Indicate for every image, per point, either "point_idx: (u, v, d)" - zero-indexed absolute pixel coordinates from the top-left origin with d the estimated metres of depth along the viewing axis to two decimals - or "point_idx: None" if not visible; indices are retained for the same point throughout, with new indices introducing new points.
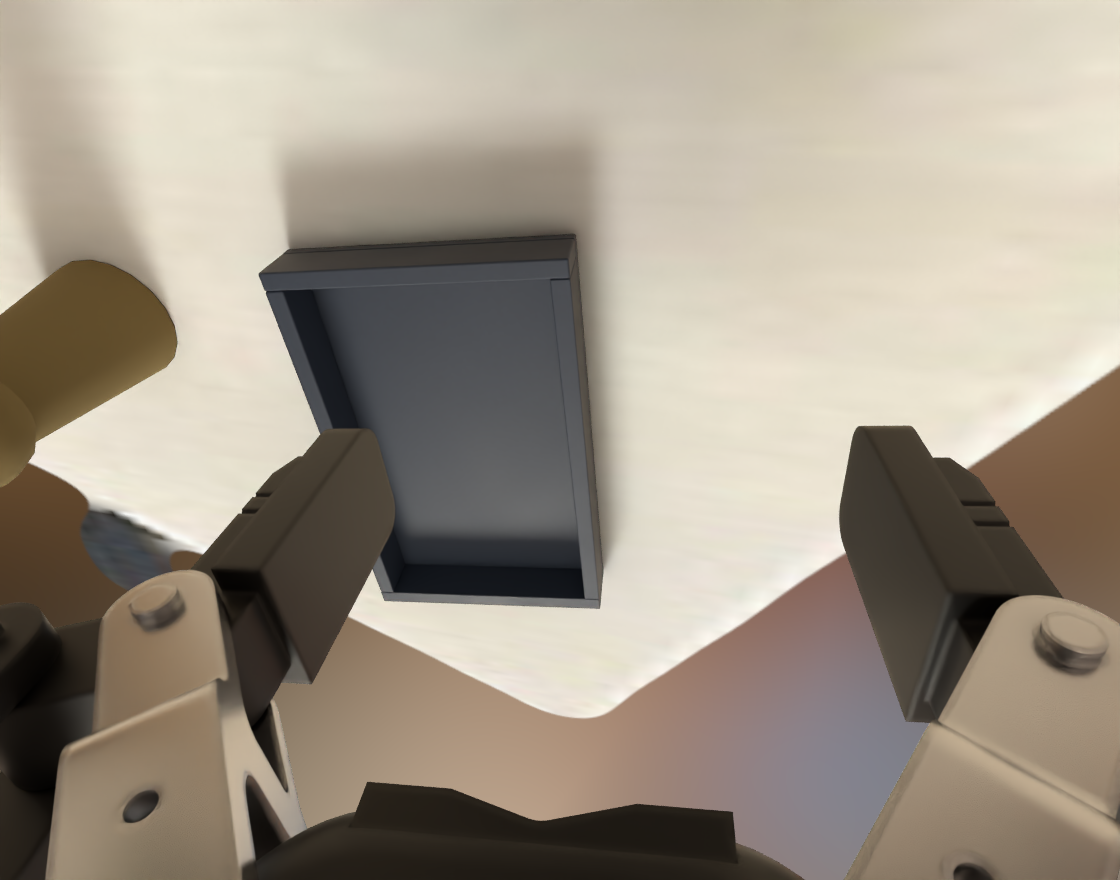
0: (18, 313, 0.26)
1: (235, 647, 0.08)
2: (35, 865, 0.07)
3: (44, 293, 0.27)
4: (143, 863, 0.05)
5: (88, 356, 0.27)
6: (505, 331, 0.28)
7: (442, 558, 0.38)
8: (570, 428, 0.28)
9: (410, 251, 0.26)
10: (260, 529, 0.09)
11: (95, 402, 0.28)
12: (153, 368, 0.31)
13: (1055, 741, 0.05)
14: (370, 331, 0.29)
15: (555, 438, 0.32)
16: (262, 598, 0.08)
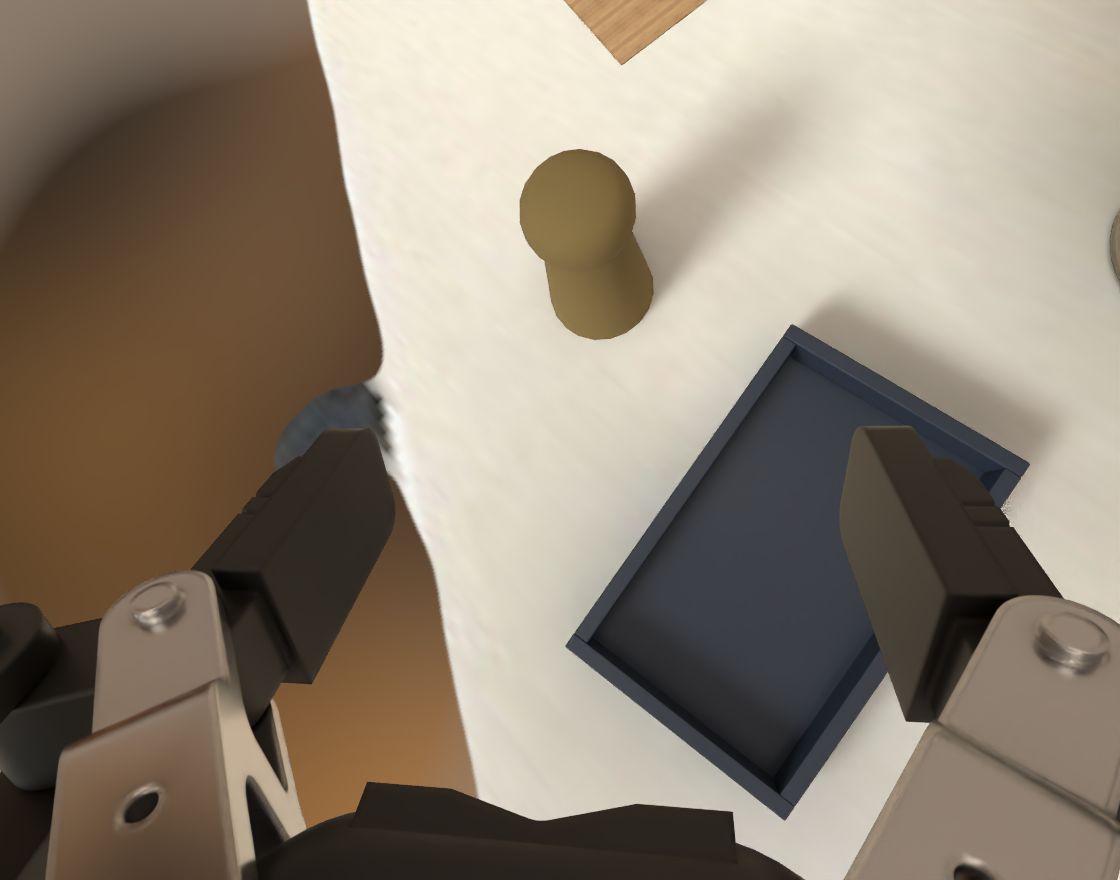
0: None
1: (235, 647, 0.08)
2: (36, 865, 0.07)
3: None
4: (143, 863, 0.05)
5: (634, 273, 0.33)
6: None
7: (635, 657, 0.34)
8: None
9: None
10: (260, 529, 0.09)
11: (599, 297, 0.33)
12: (608, 327, 0.36)
13: (1055, 741, 0.05)
14: (792, 423, 0.34)
15: (862, 610, 0.32)
16: (262, 598, 0.08)
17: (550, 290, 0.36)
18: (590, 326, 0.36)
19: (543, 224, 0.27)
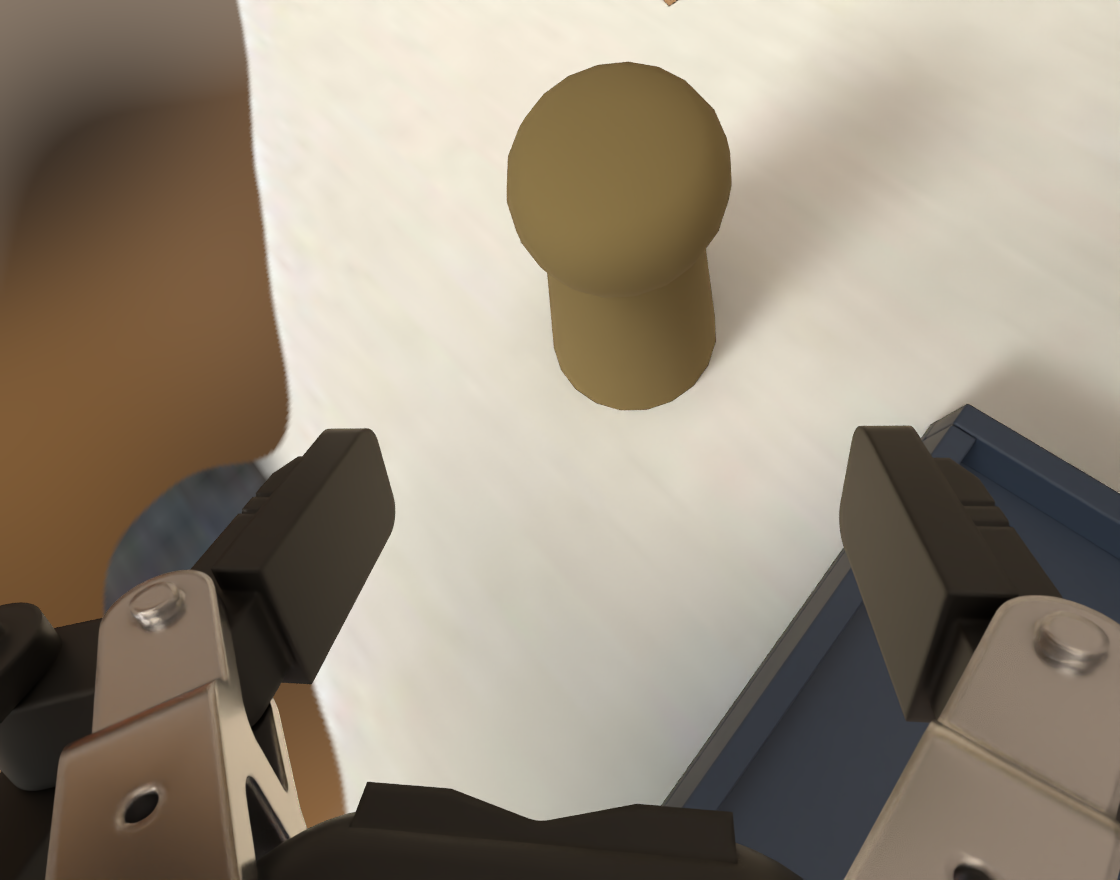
0: None
1: (235, 647, 0.08)
2: (35, 865, 0.07)
3: None
4: (143, 864, 0.05)
5: (701, 307, 0.19)
6: None
7: None
8: None
9: None
10: (260, 529, 0.09)
11: (640, 346, 0.19)
12: (646, 393, 0.22)
13: (1055, 741, 0.05)
14: None
15: None
16: (262, 598, 0.08)
17: (554, 330, 0.22)
18: (617, 390, 0.22)
19: (554, 198, 0.14)
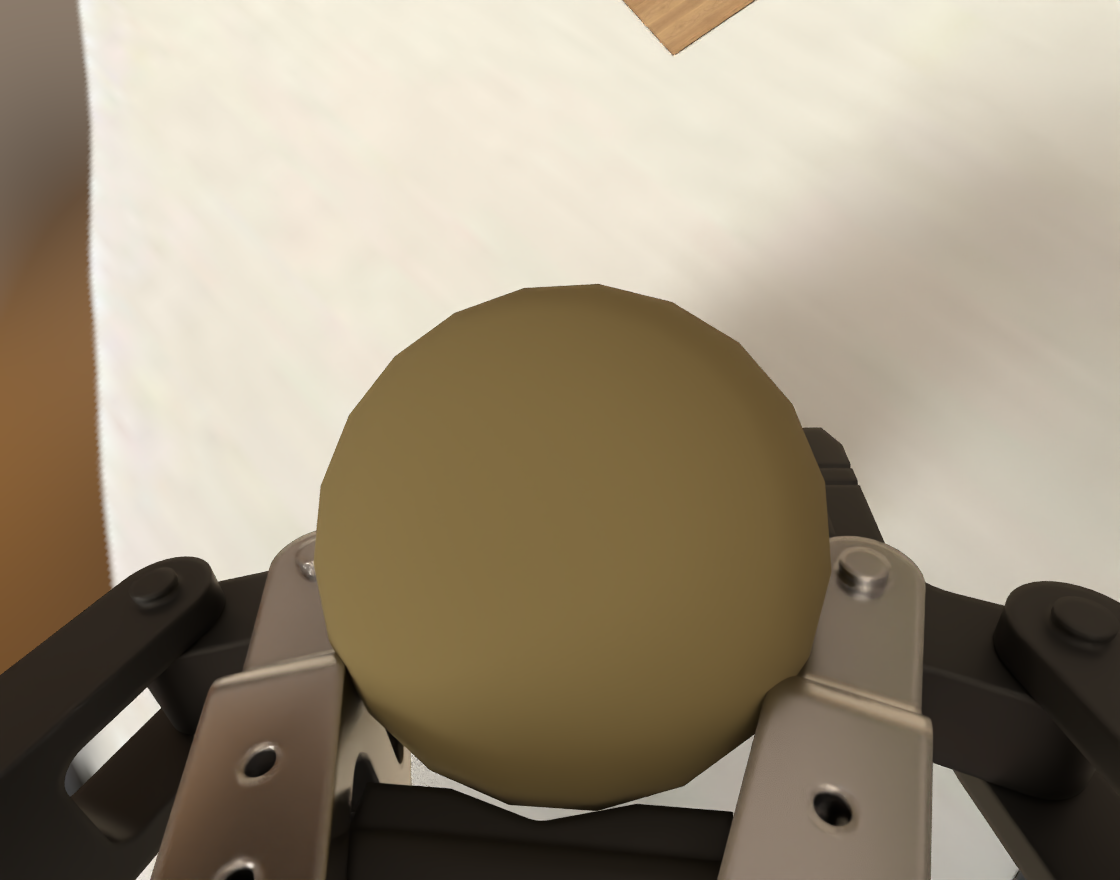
0: None
1: None
2: (171, 810, 0.08)
3: None
4: (249, 823, 0.05)
5: None
6: None
7: None
8: None
9: None
10: None
11: None
12: None
13: (824, 647, 0.06)
14: None
15: None
16: None
17: None
18: None
19: (396, 668, 0.05)
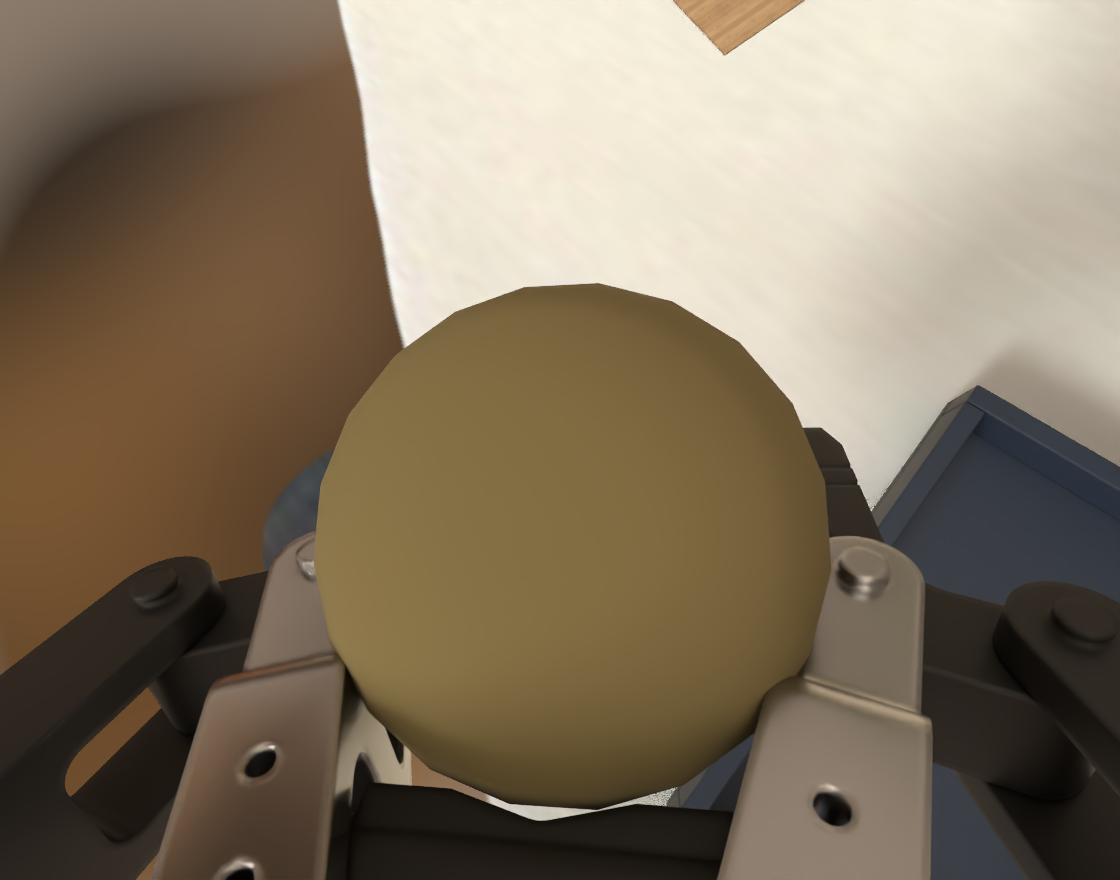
0: None
1: None
2: (172, 809, 0.08)
3: None
4: (249, 823, 0.05)
5: None
6: None
7: None
8: None
9: None
10: None
11: None
12: None
13: (824, 647, 0.06)
14: (968, 516, 0.25)
15: None
16: None
17: None
18: None
19: (396, 669, 0.05)
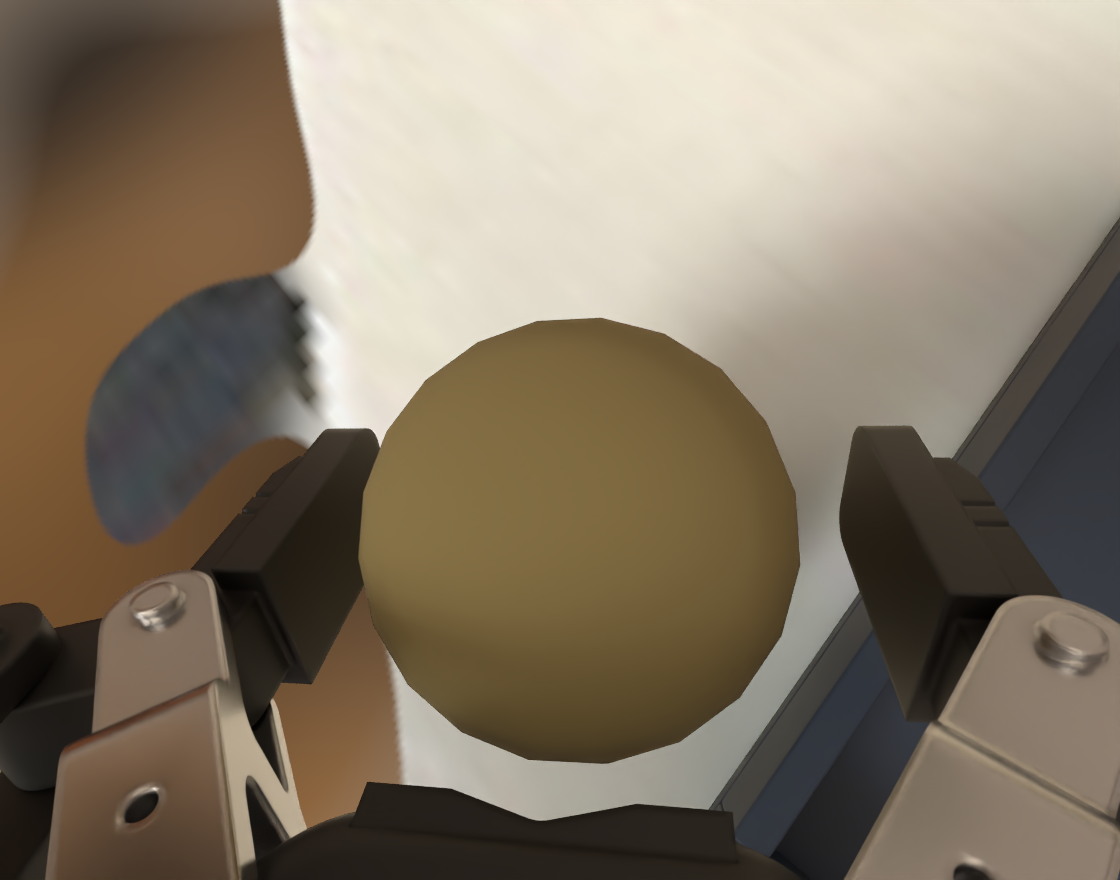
0: None
1: (235, 647, 0.08)
2: (36, 865, 0.07)
3: None
4: (143, 863, 0.05)
5: None
6: None
7: None
8: None
9: None
10: (260, 529, 0.09)
11: None
12: None
13: (1054, 740, 0.05)
14: None
15: None
16: (262, 598, 0.08)
17: None
18: None
19: (434, 645, 0.06)
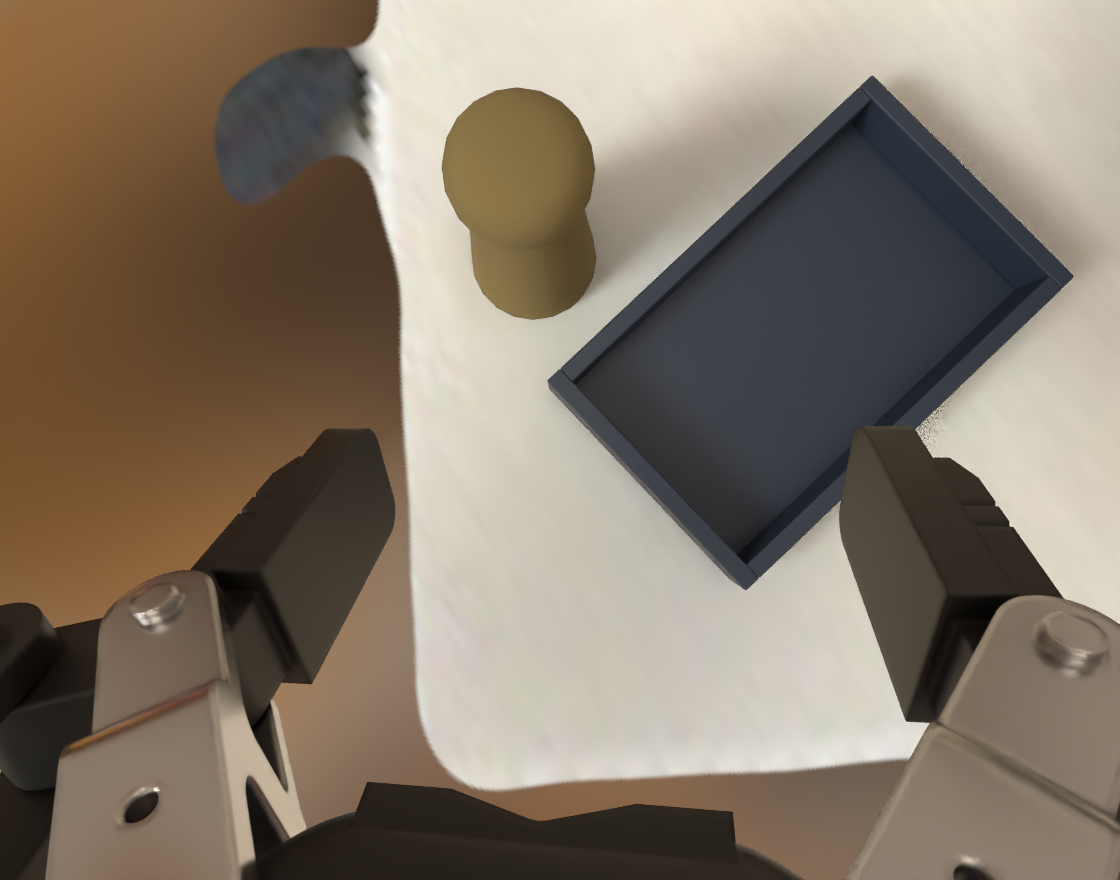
0: None
1: (235, 647, 0.08)
2: (36, 865, 0.07)
3: None
4: (142, 864, 0.05)
5: (575, 257, 0.27)
6: (927, 295, 0.31)
7: (615, 416, 0.31)
8: (939, 387, 0.28)
9: None
10: (260, 529, 0.09)
11: (526, 278, 0.27)
12: (532, 308, 0.30)
13: (1055, 741, 0.05)
14: (836, 198, 0.31)
15: (862, 406, 0.30)
16: (262, 598, 0.08)
17: None
18: (511, 302, 0.30)
19: (470, 181, 0.21)
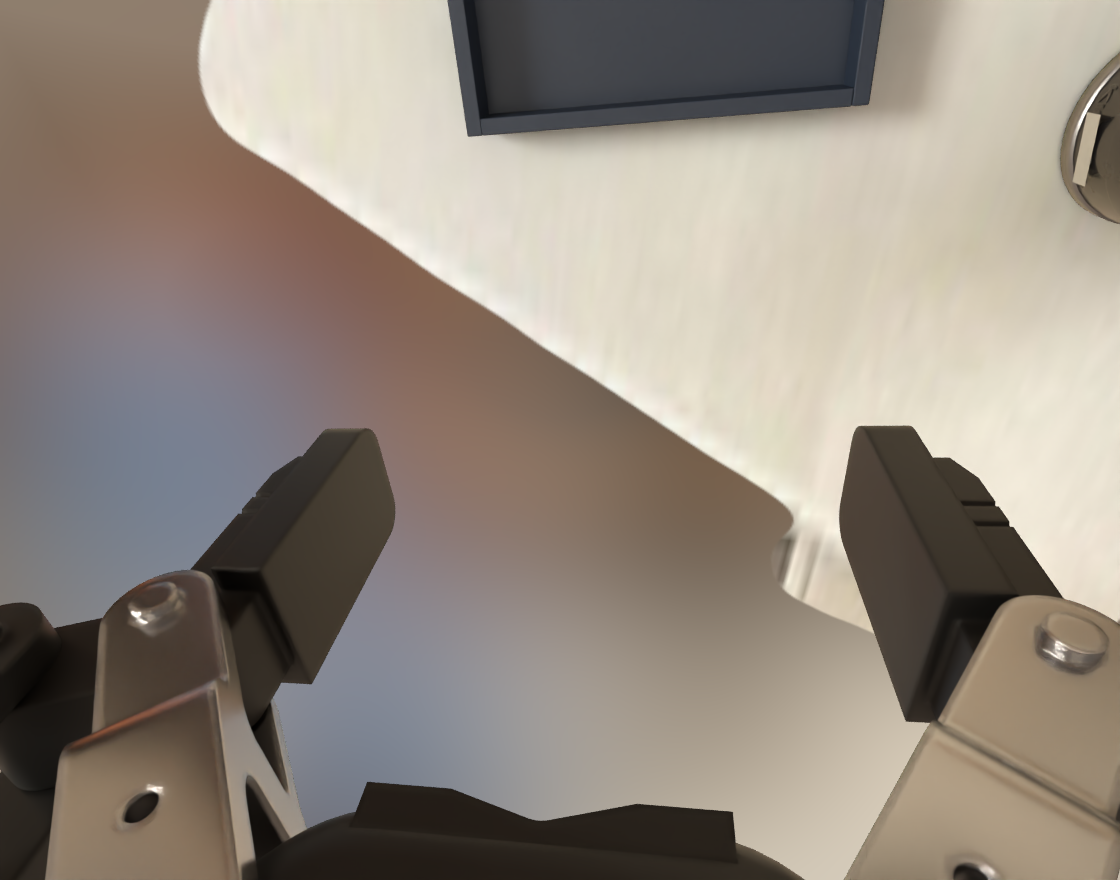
0: None
1: (235, 647, 0.08)
2: (36, 865, 0.07)
3: None
4: (143, 863, 0.05)
5: None
6: (782, 29, 0.32)
7: None
8: (705, 104, 0.32)
9: None
10: (260, 529, 0.09)
11: None
12: None
13: (1055, 741, 0.05)
14: None
15: (660, 78, 0.33)
16: (262, 598, 0.08)
17: None
18: None
19: None
